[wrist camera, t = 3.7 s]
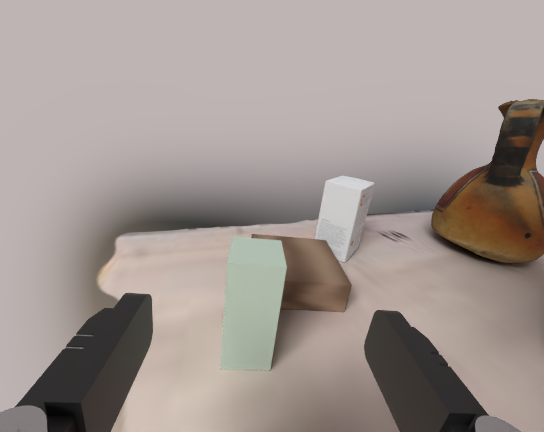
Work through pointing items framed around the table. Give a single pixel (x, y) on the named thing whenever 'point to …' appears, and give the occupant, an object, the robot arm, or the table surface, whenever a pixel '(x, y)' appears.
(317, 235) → the small box
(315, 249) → the walnut base block
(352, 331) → the table surface
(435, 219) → the ceramic pitcher
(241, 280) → the sage block
